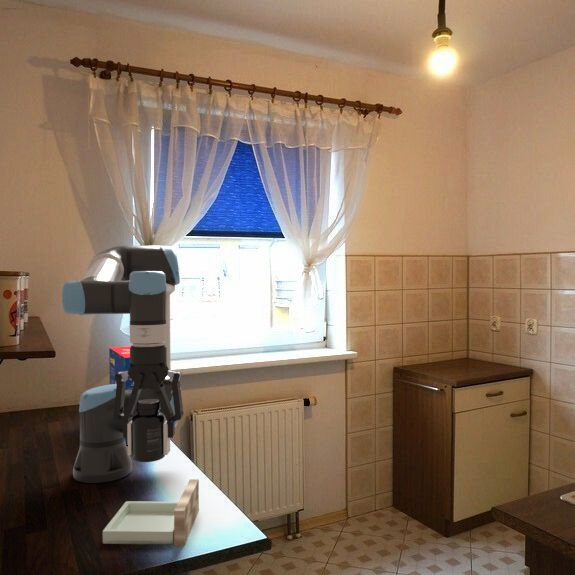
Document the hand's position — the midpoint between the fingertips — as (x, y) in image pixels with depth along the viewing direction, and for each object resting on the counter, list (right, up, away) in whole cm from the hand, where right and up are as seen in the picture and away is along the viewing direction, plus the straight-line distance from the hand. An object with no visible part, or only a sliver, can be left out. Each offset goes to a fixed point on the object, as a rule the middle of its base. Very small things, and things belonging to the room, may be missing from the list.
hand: (149, 452), depth 110 cm
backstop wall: (+8, -16, 0) cm, 18 cm away
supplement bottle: (0, -1, 0) cm, 1 cm away
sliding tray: (0, -16, 0) cm, 16 cm away
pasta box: (-25, -15, +69) cm, 75 cm away
